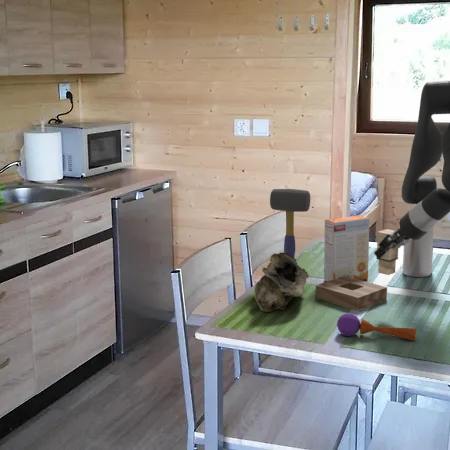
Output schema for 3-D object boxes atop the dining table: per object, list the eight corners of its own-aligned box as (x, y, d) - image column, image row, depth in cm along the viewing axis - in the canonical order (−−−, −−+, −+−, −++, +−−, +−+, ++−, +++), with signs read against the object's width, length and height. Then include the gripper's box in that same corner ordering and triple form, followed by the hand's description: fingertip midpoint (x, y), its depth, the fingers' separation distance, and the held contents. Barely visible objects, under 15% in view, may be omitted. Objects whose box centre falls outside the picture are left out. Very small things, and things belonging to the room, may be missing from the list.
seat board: (344, 288, 223) (344, 275, 222) (386, 299, 211) (387, 287, 210) (315, 297, 213) (315, 285, 213) (357, 310, 202) (358, 297, 201)
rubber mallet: (268, 278, 233) (268, 189, 226) (274, 272, 240) (275, 186, 233) (304, 282, 229) (306, 191, 222) (310, 275, 236) (311, 187, 229)
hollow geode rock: (290, 300, 226) (260, 264, 228) (319, 276, 221) (288, 240, 223) (263, 327, 200) (230, 287, 202) (295, 301, 195) (260, 260, 197)
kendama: (416, 331, 176) (337, 319, 181) (413, 351, 179) (335, 338, 183) (417, 319, 181) (339, 307, 186) (414, 338, 184) (337, 326, 188)
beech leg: (384, 269, 203) (386, 229, 200) (397, 272, 200) (399, 231, 197) (375, 272, 200) (377, 231, 197) (388, 275, 197) (390, 234, 194)
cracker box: (357, 274, 236) (359, 214, 232) (368, 279, 231) (370, 217, 226) (322, 280, 231) (324, 218, 226) (333, 285, 225) (334, 222, 221)
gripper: (427, 204, 194) (388, 238, 206) (397, 212, 185) (358, 248, 197) (443, 226, 192) (403, 259, 203) (413, 235, 183) (373, 270, 194)
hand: (381, 253), depth 200 cm, fingers closed on beech leg, 4 cm apart
